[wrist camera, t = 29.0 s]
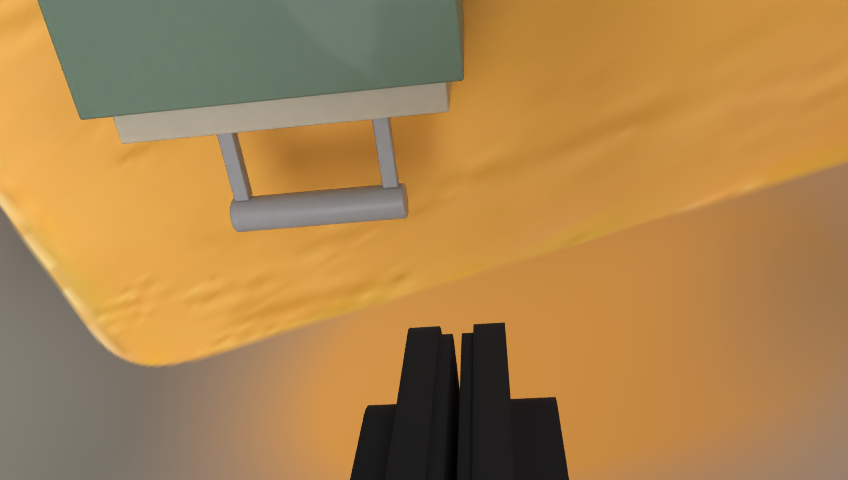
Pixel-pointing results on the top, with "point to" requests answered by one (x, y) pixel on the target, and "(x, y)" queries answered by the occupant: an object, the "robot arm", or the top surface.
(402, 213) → the drawer
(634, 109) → the top surface
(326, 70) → the cabinet
